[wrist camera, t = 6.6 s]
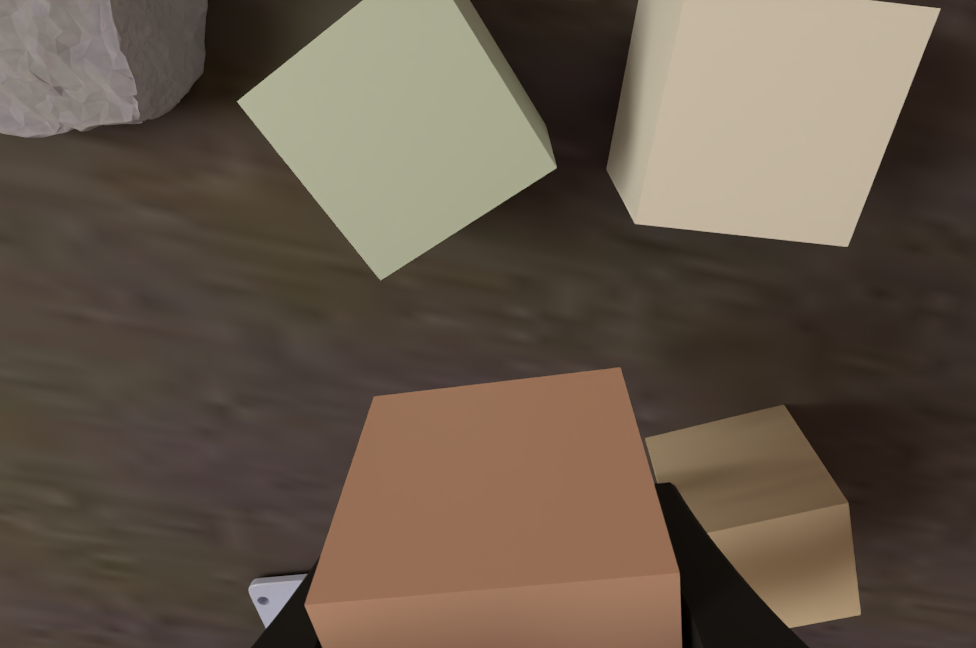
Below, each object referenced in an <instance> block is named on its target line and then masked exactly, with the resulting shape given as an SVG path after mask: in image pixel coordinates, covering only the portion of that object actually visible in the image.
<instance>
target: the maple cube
mask: <svg viewBox="0 0 976 648" xmlns="http://www.w3.org/2000/svg"><path fill="white" fill-rule="evenodd" d="M645 440H646V444H647V447H648V451H649V454H650V458H651V461H652V465H653V468H654V472H655V475H656V479H657V482H658V483H666V482H671V483H672V484H673V485H675V486H676V487H677V489H678V491H679V493H680V494H681V496H682V497H683V499H684V501H685V502H686V504H687V505H688V507H689V508H690V510H691V511H692V513H693V514H694V516H695V517H696V518H697V520H698V521H699V523H700V524H701V525H702V527H703V528H704V530H705V531H706V532H707V534H708V535H709V536H710V538H711V539H712V540H713V542H714V543H715V544H716V545H717V547H718V548H719V549H720V550H721V552H722V553H723V554H724V555H725V557H726V558H727V559H728V560H729V562H730V563H731V564H732V565H733V566H734V568H735V569H736V570H737V571H738V573H739V574H740V575H741V576H742V577H743V578H744V580H745V581H746V582H747V583H748V584H749V585H750V587H751V588H752V589H753V590H754V591H755V592H756V593H757V594H758V595H759V597H760V598H761V599H762V600H763V601H764V602H765V603H766V604H767V605H768V606H769V608H770V609H771V610H772V611H773V612H774V613H775V614H776V615H777V616H778V617H779V618H780V619H781V620H782V621H783V622H784V623H785V624H786V625H787V626H788V627H789V628H792V627H797V626H803V625H808V624H814V623H819V622H824V621H830V620H835V619H841V618H846V617H851V616H857V615H861V611H860V602H859V593H858V584H857V575H856V566H855V557H854V548H853V539H852V530H851V521H850V512H849V503H848V501H847V500H846V498H845V497H844V495H843V494H842V492H841V491H840V489H839V488H838V486H837V485H836V483H835V482H834V480H833V478H832V477H831V475H830V474H829V472H828V471H827V469H826V468H825V466H824V465H823V463H822V462H821V460H820V459H819V457H818V456H817V454H816V453H815V451H814V450H813V448H812V447H811V445H810V443H809V442H808V440H807V439H806V437H805V436H804V434H803V433H802V431H801V430H800V428H799V427H798V425H797V424H796V422H795V421H794V419H793V418H792V416H791V415H790V413H789V412H788V410H787V409H786V407H785V405H780V406H775V407H771V408H767V409H763V410H759V411H755V412H751V413H747V414H743V415H739V416H734V417H730V418H726V419H722V420H718V421H714V422H710V423H706V424H702V425H698V426H693V427H689V428H685V429H681V430H677V431H673V432H669V433H665V434H661V435H657V436H652V437H648V438H645Z"/></svg>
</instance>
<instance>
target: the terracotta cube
mask: <svg viewBox="0 0 976 648" xmlns="http://www.w3.org/2000/svg"><path fill="white" fill-rule="evenodd" d="M304 606H305V608H306V610H307V613H308V615H309V617H310V620H311V622H312V624H313V627H314V629H315V631H316V634H317V636H318V639H319V641H320V643H321V646H322V648H682V627H681V596H680V572H679V569H678V565H677V562H676V558H675V555H674V551H673V548H672V544H671V541H670V537H669V534H668V531H667V527H666V524H665V520H664V517H663V513H662V510H661V506H660V503H659V499H658V496H657V493H656V489H655V486H654V482H653V479H652V475H651V472H650V468H649V465H648V461H647V458H646V454H645V451H644V448H643V444H642V441H641V437H640V434H639V430H638V427H637V423H636V420H635V416H634V413H633V410H632V406H631V403H630V399H629V396H628V392H627V389H626V385H625V382H624V378H623V375H622V371H621V368H612V369H603V370H595V371H586V372H578V373H569V374H561V375H553V376H544V377H536V378H527V379H519V380H510V381H502V382H493V383H485V384H476V385H468V386H460V387H451V388H443V389H434V390H426V391H417V392H409V393H400V394H392V395H384V396H375V397H374V398H373V401H372V404H371V407H370V410H369V413H368V416H367V419H366V422H365V425H364V428H363V431H362V434H361V437H360V440H359V443H358V446H357V449H356V452H355V455H354V458H353V461H352V464H351V467H350V470H349V473H348V476H347V479H346V482H345V485H344V488H343V491H342V494H341V497H340V500H339V503H338V506H337V509H336V512H335V515H334V518H333V521H332V524H331V527H330V530H329V533H328V536H327V538H326V541H325V544H324V547H323V550H322V553H321V556H320V559H319V562H318V565H317V568H316V571H315V574H314V577H313V580H312V583H311V586H310V589H309V592H308V595H307V598H306V601H305V604H304Z"/></svg>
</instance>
